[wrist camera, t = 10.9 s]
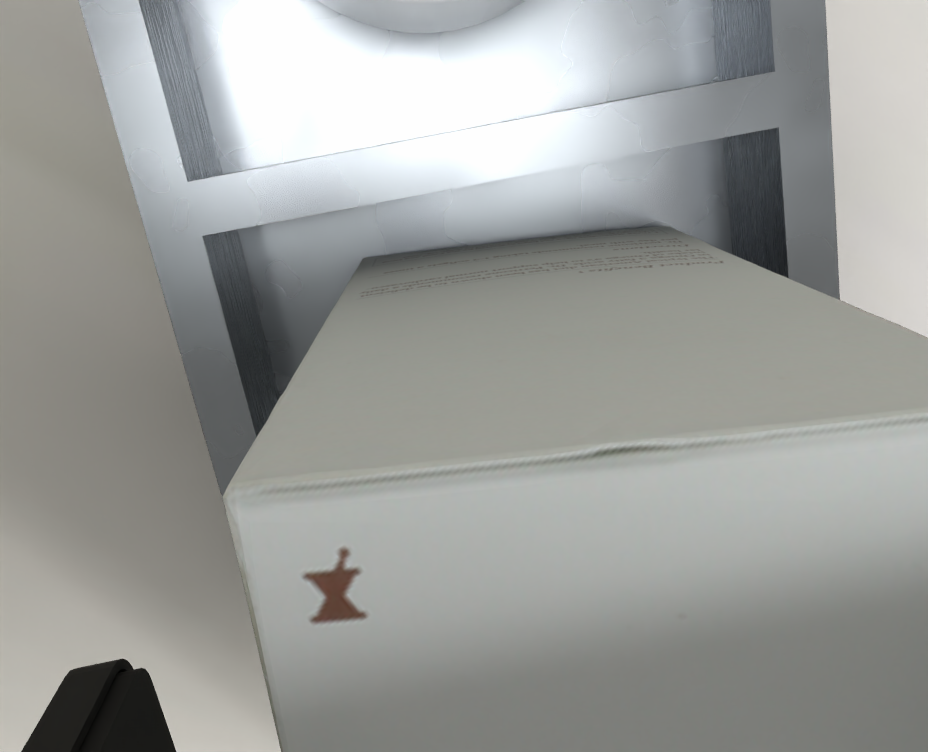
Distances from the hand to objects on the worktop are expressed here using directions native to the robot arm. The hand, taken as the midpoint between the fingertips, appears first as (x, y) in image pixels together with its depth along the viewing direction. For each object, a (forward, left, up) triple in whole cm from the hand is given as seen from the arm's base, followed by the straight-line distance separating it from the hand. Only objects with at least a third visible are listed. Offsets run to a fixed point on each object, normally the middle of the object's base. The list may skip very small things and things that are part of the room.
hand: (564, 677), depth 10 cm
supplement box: (+1, 0, -11) cm, 11 cm away
